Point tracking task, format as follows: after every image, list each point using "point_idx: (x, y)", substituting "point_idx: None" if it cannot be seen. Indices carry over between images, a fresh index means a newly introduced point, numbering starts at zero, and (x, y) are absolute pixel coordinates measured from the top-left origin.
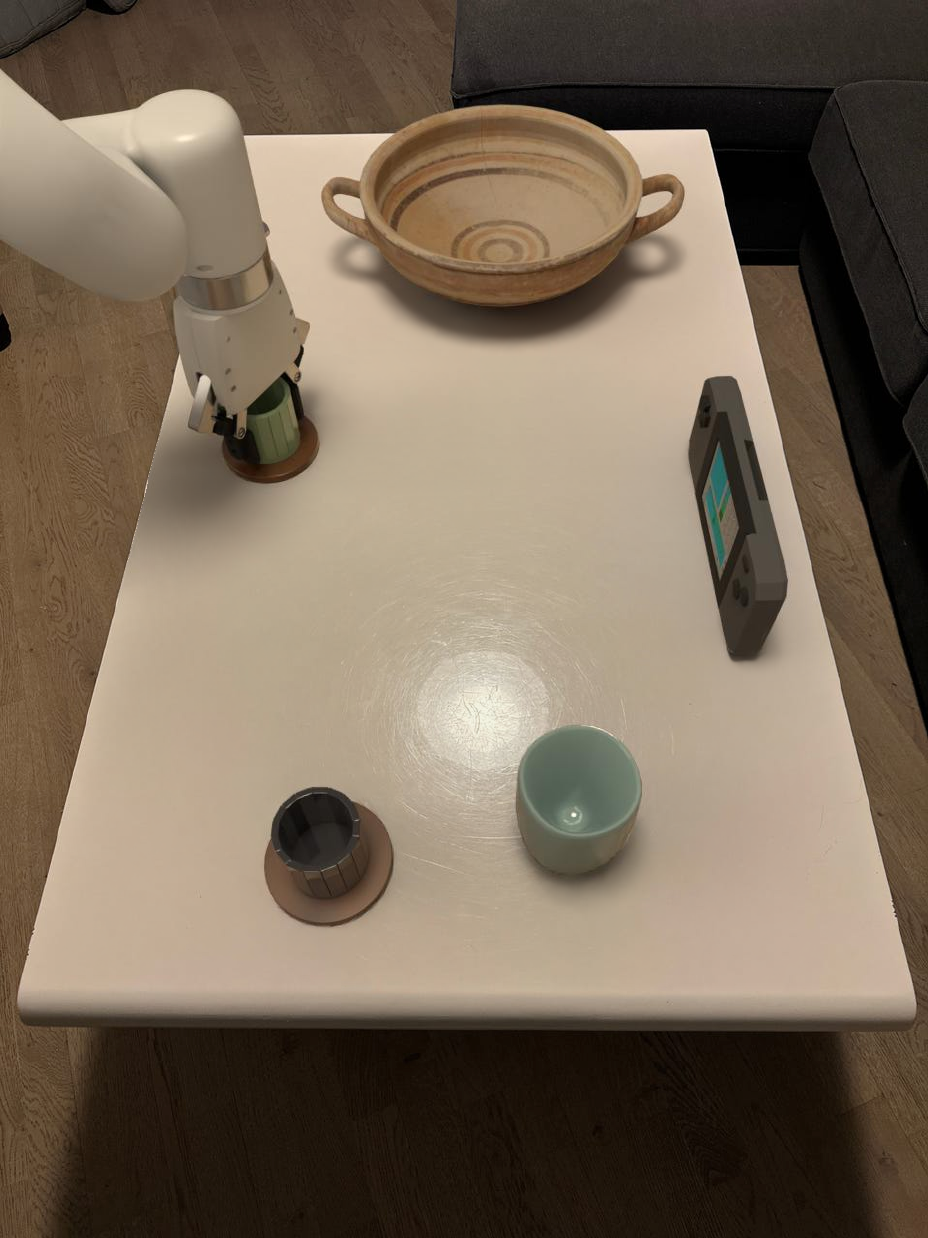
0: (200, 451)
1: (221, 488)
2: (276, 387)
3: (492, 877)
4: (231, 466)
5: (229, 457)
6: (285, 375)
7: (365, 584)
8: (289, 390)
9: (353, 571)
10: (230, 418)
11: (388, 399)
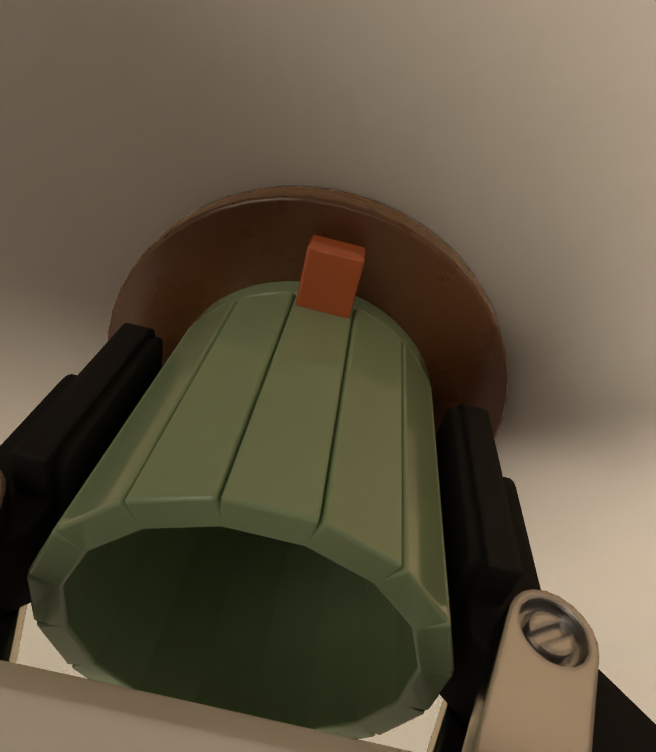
0: (157, 82)
1: (40, 282)
2: (404, 621)
3: None
4: (114, 310)
5: (150, 283)
6: (461, 707)
7: (30, 653)
8: None
9: (40, 635)
10: (24, 541)
11: (617, 615)
